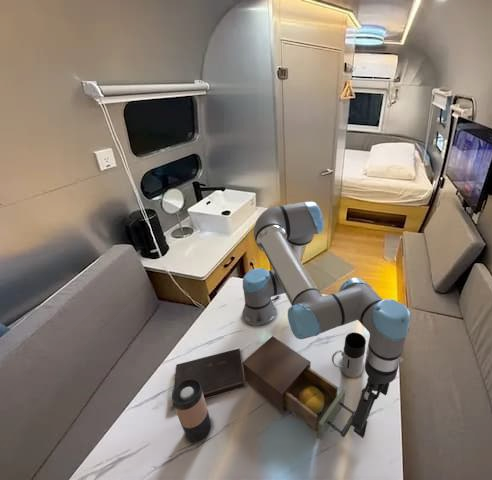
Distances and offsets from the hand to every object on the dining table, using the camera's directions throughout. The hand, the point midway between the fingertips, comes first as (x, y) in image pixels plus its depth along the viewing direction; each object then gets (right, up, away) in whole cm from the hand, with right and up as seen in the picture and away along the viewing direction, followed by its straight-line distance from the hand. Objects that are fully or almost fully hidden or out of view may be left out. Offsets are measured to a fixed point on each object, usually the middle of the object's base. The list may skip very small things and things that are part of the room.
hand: (371, 411), depth 74 cm
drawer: (-14, -11, +17) cm, 25 cm away
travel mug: (-52, -13, +12) cm, 55 cm away
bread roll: (-17, -9, +19) cm, 27 cm away
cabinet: (-29, -6, +27) cm, 41 cm away
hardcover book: (-54, -5, +27) cm, 61 cm away
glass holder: (-4, -4, +32) cm, 32 cm away
